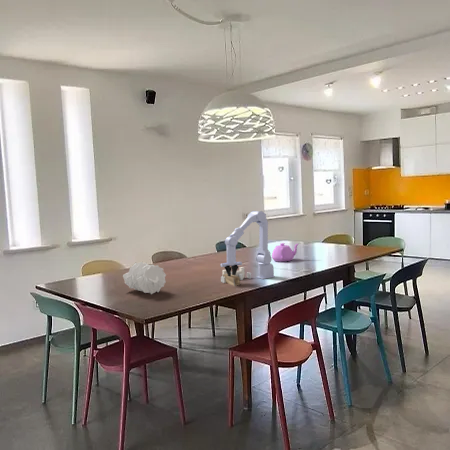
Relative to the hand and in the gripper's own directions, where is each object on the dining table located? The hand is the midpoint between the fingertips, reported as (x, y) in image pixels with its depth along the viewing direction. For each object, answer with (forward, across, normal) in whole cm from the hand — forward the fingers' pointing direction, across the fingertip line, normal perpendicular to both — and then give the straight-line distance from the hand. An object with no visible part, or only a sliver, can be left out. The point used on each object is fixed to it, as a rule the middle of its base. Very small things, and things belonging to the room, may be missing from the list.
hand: (231, 277), depth 293 cm
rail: (+4, 0, 0) cm, 4 cm away
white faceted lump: (+6, +50, -16) cm, 53 cm away
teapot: (+1, -75, -43) cm, 87 cm away
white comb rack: (+3, -7, -7) cm, 11 cm away
